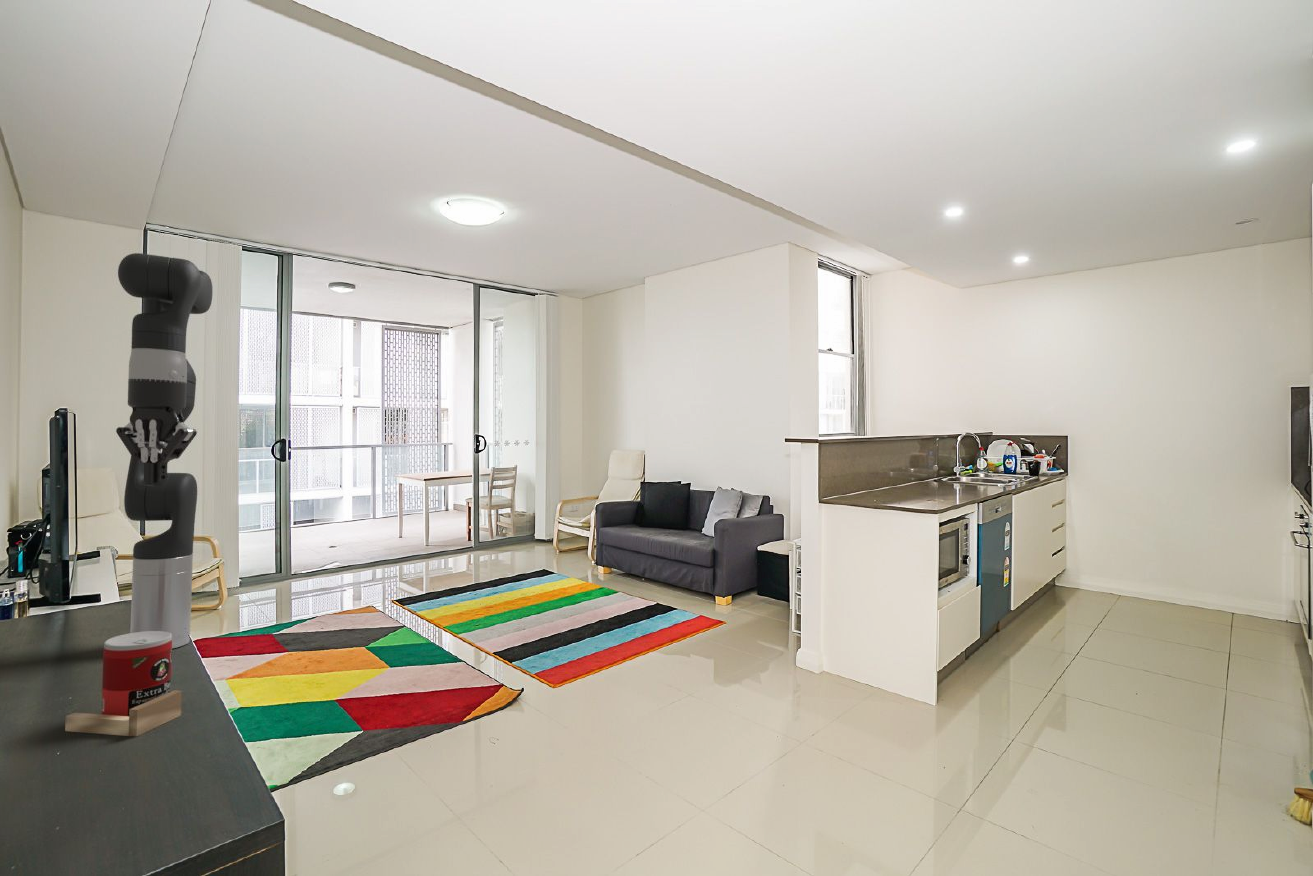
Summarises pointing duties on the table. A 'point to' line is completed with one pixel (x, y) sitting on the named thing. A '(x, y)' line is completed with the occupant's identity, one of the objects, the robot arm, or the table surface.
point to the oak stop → (129, 718)
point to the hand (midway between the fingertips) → (155, 485)
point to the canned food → (135, 670)
